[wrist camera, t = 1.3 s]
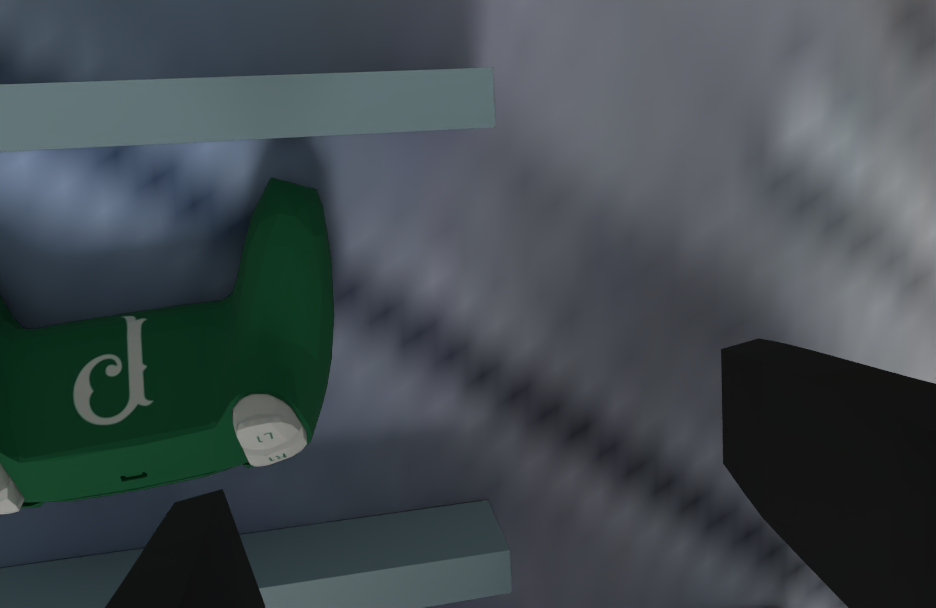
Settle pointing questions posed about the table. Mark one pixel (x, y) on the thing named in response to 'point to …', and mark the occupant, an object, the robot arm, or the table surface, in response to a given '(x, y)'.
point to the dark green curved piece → (175, 375)
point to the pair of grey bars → (264, 117)
